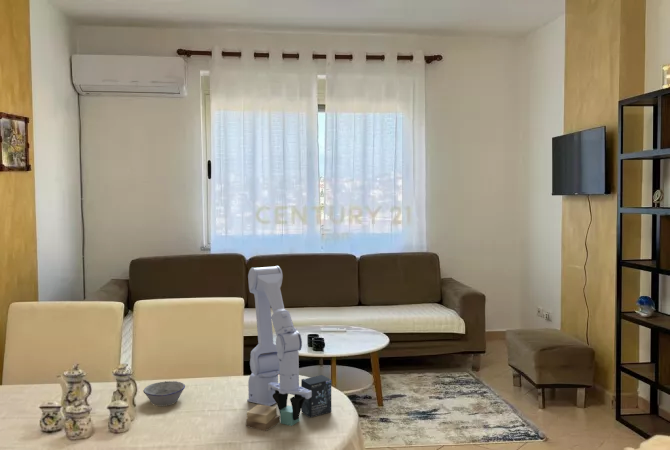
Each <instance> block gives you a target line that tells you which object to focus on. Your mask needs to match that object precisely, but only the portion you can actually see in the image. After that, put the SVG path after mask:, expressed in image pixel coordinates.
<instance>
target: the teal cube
mask: <svg viewBox="0 0 670 450" xmlns="http://www.w3.org/2000/svg"><path fill="white" fill-rule="evenodd" d="M279 416H280V423H279V424H282V425H286V426H290V427H293V426H294V425H295V424H297V423H299V422H300V417H299V418H298V419H297V420H293V410H292V405H287V406H286V407H285V408H283V409H281V410H280V412H279Z"/></svg>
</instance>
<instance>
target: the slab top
mask: <svg viewBox="0 0 670 450" xmlns="http://www.w3.org/2000/svg"><path fill="white" fill-rule="evenodd" d="M277 408H278V406H273V405H272V406H266V405H261V404H257V403H256V405H255V406H253V407H252V408H251V409H249V410H248V411H246V419H247V421H252V422H258V423H265V424H267V423H268V422H269V421H271V420H272V419H273V418H274V417H275V416H276V415H278V413H277V412H278V411H277V410H278V409H277Z"/></svg>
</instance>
